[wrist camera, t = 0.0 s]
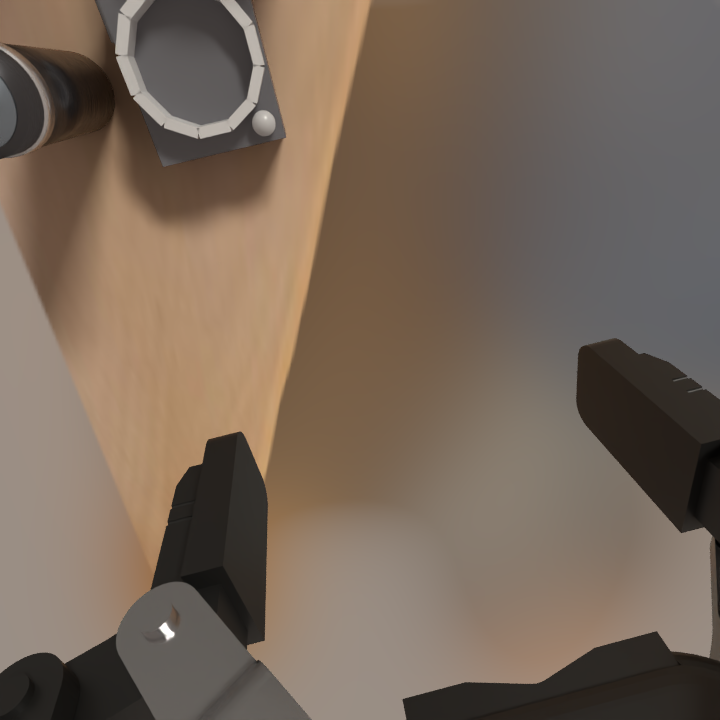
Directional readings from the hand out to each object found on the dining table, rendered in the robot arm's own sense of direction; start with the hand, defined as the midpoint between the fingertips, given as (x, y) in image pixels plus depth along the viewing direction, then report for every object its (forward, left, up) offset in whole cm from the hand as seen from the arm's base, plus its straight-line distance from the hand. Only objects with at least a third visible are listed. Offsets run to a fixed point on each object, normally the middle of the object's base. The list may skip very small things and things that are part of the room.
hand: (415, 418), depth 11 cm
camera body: (-9, -6, -29) cm, 31 cm away
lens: (-9, -14, -29) cm, 34 cm away
